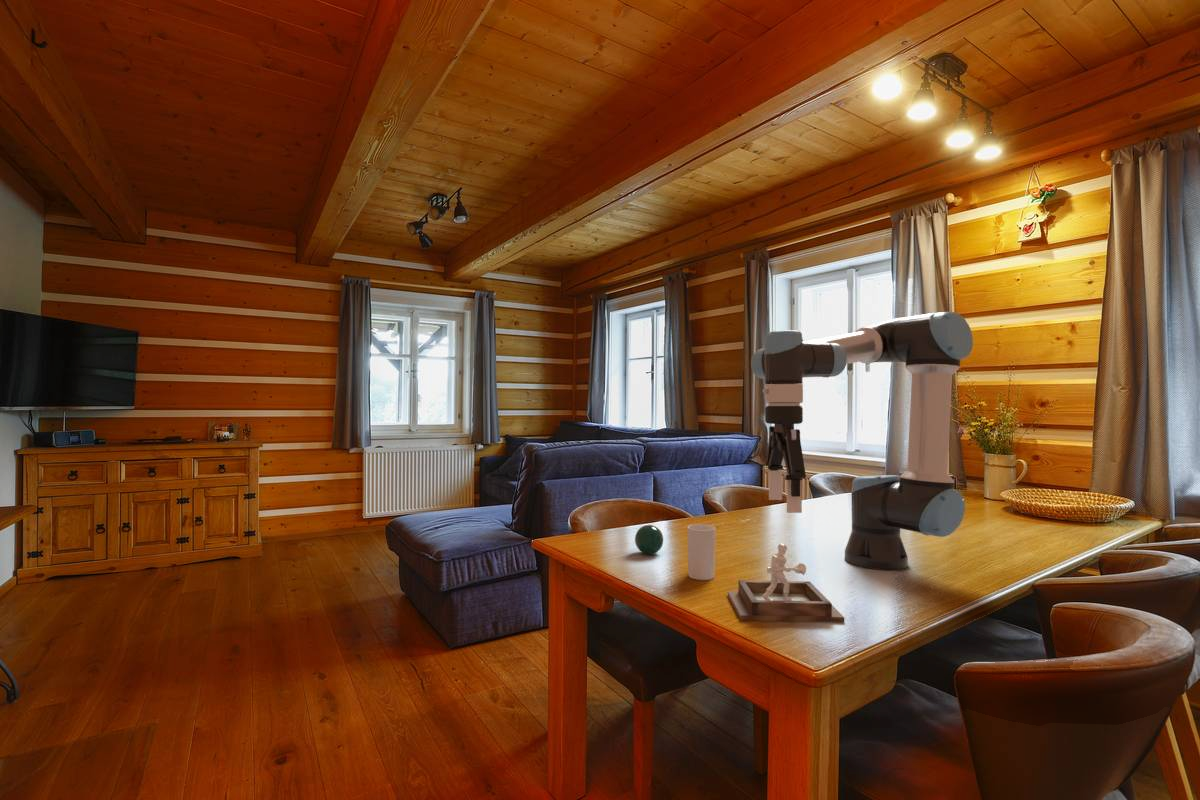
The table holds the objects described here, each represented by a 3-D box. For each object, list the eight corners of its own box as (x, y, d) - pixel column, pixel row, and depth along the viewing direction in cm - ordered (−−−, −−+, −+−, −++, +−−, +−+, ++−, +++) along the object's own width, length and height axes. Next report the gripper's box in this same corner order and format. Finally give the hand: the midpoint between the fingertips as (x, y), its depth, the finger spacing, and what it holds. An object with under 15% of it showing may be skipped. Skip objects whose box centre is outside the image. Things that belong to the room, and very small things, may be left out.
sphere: (629, 554, 158) (629, 526, 158) (644, 548, 164) (644, 520, 164) (654, 559, 153) (654, 529, 153) (668, 552, 160) (668, 524, 160)
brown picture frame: (819, 597, 124) (819, 581, 124) (844, 622, 110) (844, 604, 110) (727, 595, 125) (727, 579, 125) (740, 620, 111) (740, 602, 111)
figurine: (756, 601, 118) (756, 544, 118) (792, 595, 122) (792, 540, 122) (771, 609, 114) (772, 549, 114) (808, 603, 117) (808, 545, 117)
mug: (717, 581, 135) (717, 530, 135) (688, 580, 136) (688, 530, 136) (711, 568, 145) (711, 521, 145) (685, 567, 146) (685, 521, 146)
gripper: (751, 404, 132) (752, 495, 132) (782, 406, 107) (783, 518, 107) (784, 403, 131) (785, 495, 131) (822, 405, 106) (823, 518, 107)
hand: (784, 505), depth 119 cm, fingers open, 13 cm apart
